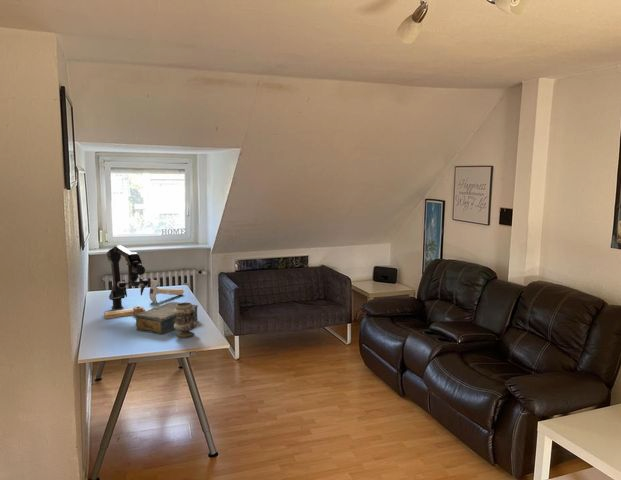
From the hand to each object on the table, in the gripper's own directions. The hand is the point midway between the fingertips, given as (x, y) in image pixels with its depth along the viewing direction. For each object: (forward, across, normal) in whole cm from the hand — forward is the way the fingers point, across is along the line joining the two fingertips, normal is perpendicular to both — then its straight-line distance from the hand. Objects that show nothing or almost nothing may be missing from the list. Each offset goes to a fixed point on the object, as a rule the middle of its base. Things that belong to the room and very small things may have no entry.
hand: (133, 296), depth 314 cm
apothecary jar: (+11, +14, -60) cm, 63 cm away
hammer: (+13, +29, +29) cm, 43 cm away
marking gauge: (+12, +1, -2) cm, 12 cm away
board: (+12, -5, +2) cm, 13 cm away
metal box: (+12, +12, -36) cm, 39 cm away
